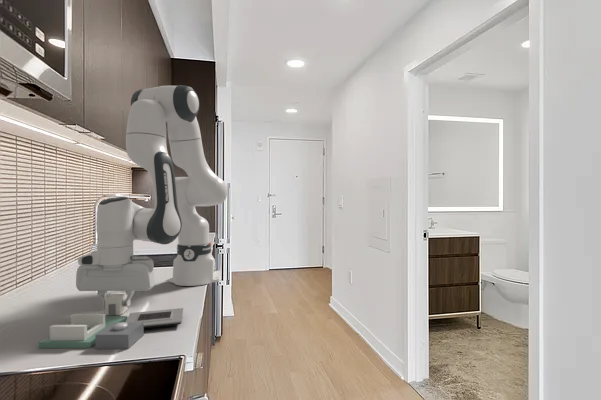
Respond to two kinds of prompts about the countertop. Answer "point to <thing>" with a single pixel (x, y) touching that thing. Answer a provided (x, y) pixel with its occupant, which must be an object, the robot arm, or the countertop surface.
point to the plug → (115, 303)
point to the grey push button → (119, 335)
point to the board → (79, 331)
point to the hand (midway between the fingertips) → (116, 306)
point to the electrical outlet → (157, 318)
